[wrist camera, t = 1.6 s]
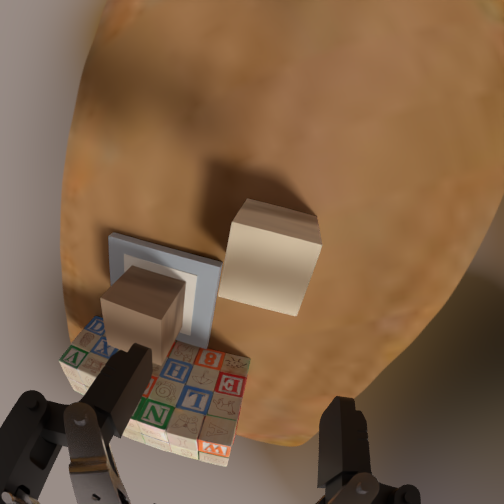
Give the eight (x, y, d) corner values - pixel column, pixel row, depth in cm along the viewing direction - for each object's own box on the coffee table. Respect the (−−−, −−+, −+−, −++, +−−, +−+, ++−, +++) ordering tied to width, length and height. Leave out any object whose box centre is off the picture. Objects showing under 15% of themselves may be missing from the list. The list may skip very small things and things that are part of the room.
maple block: (247, 198, 24) (232, 221, 18) (316, 216, 23) (322, 245, 18) (234, 259, 26) (218, 296, 21) (297, 276, 26) (296, 316, 21)
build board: (113, 232, 27) (107, 236, 26) (222, 262, 27) (219, 268, 26) (118, 312, 32) (113, 317, 31) (208, 343, 31) (206, 350, 30)
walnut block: (132, 265, 27) (100, 297, 22) (186, 281, 27) (161, 320, 21) (133, 310, 30) (107, 344, 24) (182, 326, 30) (161, 366, 24)
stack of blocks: (104, 345, 36) (61, 405, 25) (95, 313, 33) (43, 375, 22) (246, 387, 34) (227, 469, 23) (252, 357, 32) (231, 449, 21)
